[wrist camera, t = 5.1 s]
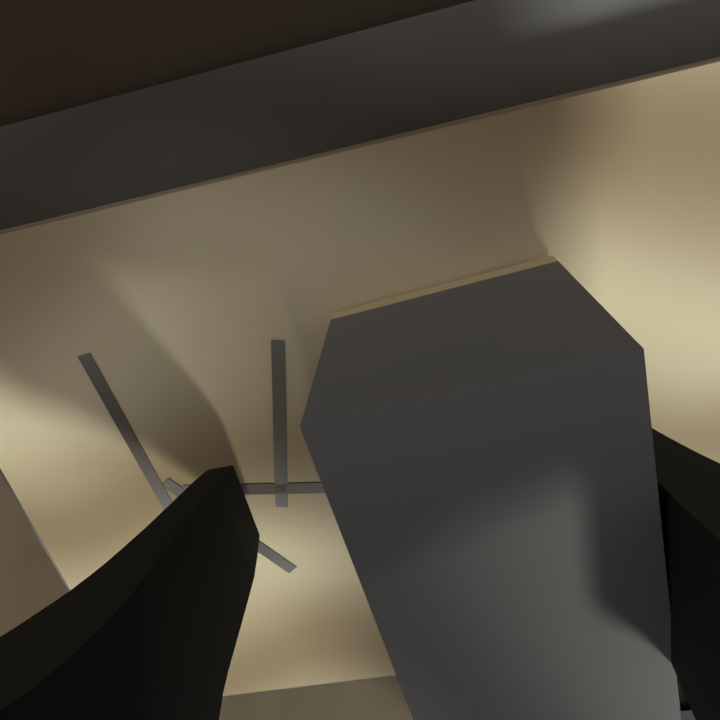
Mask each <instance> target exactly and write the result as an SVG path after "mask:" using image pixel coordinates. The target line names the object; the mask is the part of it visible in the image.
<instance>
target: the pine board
mask: <svg viewBox="0 0 720 720" xmlns="http://www.w3.org/2000/svg"><path fill="white" fill-rule="evenodd" d="M552 255H553V256H554V257H555V258H556V259H557V260H558V261H559V262H560V263H561V264H562V265H563V266H564V267H565V268H566V269H567V270H568V271H569V273H570V274H571V275H572V276H573V277H574V278H575V279H576V280H577V281H578V282H579V283H580V284H581V285H582V286H583V287H584V288H585V289H586V290H587V291H588V292H589V293H590V294H591V295H592V296H593V297H594V298H595V299H596V300H597V301H598V302H599V303H600V304H601V305H602V306H603V307H604V308H605V309H606V311H607V312H608V313H609V314H610V315H611V316H612V317H613V318H614V319H615V320H616V321H617V322H618V323H619V324H620V325H621V326H622V327H623V328H624V329H625V330H626V331H627V332H628V333H629V334H630V335H631V336H632V337H633V338H634V339H635V340H636V341H637V342H638V343H639V344H640V345H641V346H642V347H643V349H644V356H645V366H646V376H647V385H648V395H649V405H650V415H651V425H652V428H653V429H655V430H656V431H658V432H660V433H662V434H663V435H665V436H667V437H669V438H671V439H672V440H674V441H676V442H678V443H680V444H682V445H684V446H686V447H688V448H689V449H691V450H693V451H695V452H697V453H699V454H701V455H703V456H705V457H708V458H710V459H712V460H714V461H716V462H718V463H720V0H473V1H470V2H466V3H462V4H458V5H455V6H451V7H447V8H443V9H440V10H436V11H432V12H428V13H425V14H421V15H417V16H413V17H410V18H406V19H402V20H398V21H395V22H391V23H387V24H383V25H380V26H376V27H372V28H368V29H365V30H361V31H357V32H353V33H350V34H346V35H342V36H338V37H335V38H331V39H327V40H323V41H320V42H316V43H312V44H308V45H305V46H301V47H297V48H293V49H290V50H286V51H282V52H278V53H275V54H271V55H267V56H263V57H260V58H256V59H252V60H248V61H245V62H241V63H237V64H234V65H230V66H226V67H222V68H219V69H215V70H211V71H207V72H204V73H200V74H196V75H192V76H189V77H185V78H181V79H177V80H174V81H170V82H166V83H162V84H159V85H155V86H151V87H147V88H144V89H140V90H136V91H132V92H129V93H125V94H121V95H117V96H114V97H110V98H106V99H102V100H99V101H95V102H91V103H87V104H84V105H80V106H76V107H72V108H69V109H65V110H61V111H57V112H54V113H50V114H46V115H42V116H39V117H35V118H31V119H27V120H24V121H20V122H16V123H12V124H9V125H5V126H1V127H0V473H1V475H2V476H3V478H4V480H5V482H6V483H7V485H8V487H9V489H10V490H11V492H12V494H13V496H14V497H15V499H16V501H17V503H18V504H19V506H20V508H21V510H22V511H23V513H24V515H25V517H26V518H27V520H28V522H29V523H30V525H31V527H32V529H33V530H34V532H35V534H36V536H37V537H38V539H39V541H40V543H41V544H42V546H43V548H44V550H45V551H46V553H47V555H48V557H49V558H50V560H51V562H52V564H53V565H54V567H55V569H56V570H57V572H58V574H59V576H60V577H61V579H62V581H63V583H64V584H65V586H66V588H67V590H68V591H70V590H71V589H73V588H74V587H75V586H77V585H78V584H79V583H81V582H82V581H83V580H85V579H86V578H87V577H89V576H90V575H91V574H92V573H94V572H95V571H96V570H97V569H99V568H100V567H101V566H102V565H104V564H105V563H106V562H107V561H108V560H110V559H111V558H112V557H113V556H114V555H115V554H116V553H118V552H119V551H120V550H121V549H122V548H123V547H124V546H126V545H127V544H128V543H129V542H130V541H131V540H132V539H133V538H135V537H136V536H137V535H138V534H139V533H140V532H141V531H142V530H144V529H145V528H146V527H147V526H148V525H149V524H150V523H151V522H152V521H153V520H154V519H155V518H156V517H157V516H158V515H159V514H160V513H161V512H163V511H164V510H165V509H166V508H167V507H168V506H169V505H170V504H171V503H172V502H173V501H174V500H175V499H176V498H177V497H178V496H179V495H180V494H181V493H182V492H183V491H184V490H185V489H186V488H188V487H189V486H190V485H191V484H192V483H193V482H194V481H195V480H196V479H197V478H198V477H200V476H201V475H202V474H203V473H204V472H206V471H207V470H209V469H214V468H220V467H226V466H232V465H233V466H234V469H235V471H236V474H237V477H238V479H239V482H240V484H241V487H242V490H243V492H244V495H245V498H246V500H247V503H248V506H249V508H250V511H251V513H252V516H253V519H254V521H255V524H256V527H257V529H258V532H259V535H260V537H259V546H258V555H257V562H256V569H255V576H254V580H253V584H252V588H251V591H250V595H249V599H248V602H247V606H246V610H245V613H244V617H243V621H242V624H241V628H240V631H239V635H238V638H237V642H236V646H235V649H234V653H233V656H232V660H231V664H230V667H229V671H228V675H227V679H226V683H225V688H224V692H223V697H228V696H236V695H244V694H252V693H260V692H269V691H277V690H285V689H293V688H302V687H310V686H318V685H326V684H334V683H343V682H351V681H359V680H367V679H375V678H384V677H392V676H396V673H395V671H394V668H393V666H392V663H391V660H390V658H389V655H388V653H387V650H386V648H385V645H384V642H383V640H382V637H381V635H380V632H379V630H378V627H377V624H376V622H375V619H374V617H373V614H372V612H371V609H370V606H369V604H368V601H367V599H366V596H365V594H364V591H363V588H362V586H361V583H360V581H359V578H358V576H357V573H356V570H355V568H354V565H353V563H352V560H351V558H350V555H349V552H348V550H347V547H346V545H345V542H344V540H343V537H342V534H341V532H340V529H339V527H338V524H337V522H336V519H335V516H334V514H333V511H332V509H331V506H330V504H329V501H328V498H327V496H326V493H325V491H324V488H323V486H322V483H321V480H320V478H319V475H318V473H317V470H316V468H315V465H314V462H313V460H312V457H311V455H310V452H309V450H308V447H307V444H306V442H305V439H304V437H303V434H302V432H301V429H300V425H301V421H302V418H303V414H304V411H305V407H306V404H307V400H308V397H309V393H310V390H311V386H312V383H313V379H314V376H315V372H316V369H317V365H318V362H319V358H320V355H321V351H322V348H323V345H324V341H325V338H326V334H327V331H328V327H329V324H330V320H331V317H332V313H334V312H338V311H341V310H345V309H349V308H353V307H357V306H361V305H364V304H368V303H372V302H376V301H380V300H384V299H388V298H391V297H395V296H399V295H403V294H407V293H411V292H414V291H418V290H422V289H426V288H430V287H434V286H437V285H441V284H445V283H449V282H453V281H457V280H460V279H464V278H468V277H472V276H476V275H480V274H483V273H487V272H491V271H495V270H499V269H503V268H506V267H510V266H514V265H518V264H522V263H526V262H529V261H533V260H537V259H541V258H545V257H549V256H552Z"/></svg>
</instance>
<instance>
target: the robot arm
mask: <svg viewBox="0 0 720 720" xmlns="http://www.w3.org/2000/svg"><path fill="white" fill-rule="evenodd" d="M652 435H653V445H654V455H655V465H656V474H657V484H658V494H659V504H660V514H661V524H662V534H663V544H664V554H665V564H666V573H667V583H668V593H669V603H670V613H671V664H672V666H673V668H674V671H675V673H676V675H677V677H678V680H679V682H680V684H681V687H682V689H683V691H684V694H685V696H686V698H687V701H688V703H689V705H690V708H691V710H684V711H680V712H681V720H720V463H718V462H716V461H714V460H712V459H710V458H708V457H705V456H703V455H701V454H699V453H697V452H695V451H693V450H691V449H689V448H688V447H686V446H684V445H682V444H680V443H678V442H676V441H674V440H672V439H671V438H669V437H667V436H665V435H663V434H662V433H660V432H658V431H656V430H655V429H653V428H652ZM259 537H260V535H259V532H258V529H257V527H256V524H255V521H254V519H253V516H252V513H251V511H250V508H249V506H248V503H247V500H246V498H245V495H244V492H243V490H242V487H241V484H240V482H239V479H238V477H237V474H236V471H235V469H234V466H233V465H232V466H226V467H220V468H214V469H209V470H207V471H206V472H204V473H203V474H202V475H201V476H200V477H198V478H197V479H196V480H195V481H194V482H193V483H192V484H191V485H190V486H189V487H188V488H186V489H185V490H184V491H183V492H182V493H181V494H180V495H179V496H178V497H177V498H176V499H175V500H174V501H173V502H172V503H171V504H170V505H169V506H168V507H167V508H166V509H165V510H164V511H163V512H161V513H160V514H159V515H158V516H157V517H156V518H155V519H154V520H153V521H152V522H151V523H150V524H149V525H148V526H147V527H146V528H145V529H144V530H142V531H141V532H140V533H139V534H138V535H137V536H136V537H135V538H133V539H132V540H131V541H130V542H129V543H128V544H127V545H126V546H124V547H123V548H122V549H121V550H120V551H119V552H118V553H116V554H115V555H114V556H113V557H112V558H111V559H110V560H108V561H107V562H106V563H105V564H104V565H102V566H101V567H100V568H99V569H97V570H96V571H95V572H94V573H92V574H91V575H90V576H89V577H87V578H86V579H85V580H83V581H82V582H81V583H79V584H78V585H77V586H75V587H74V588H73V589H71V590H70V591H69V592H67V593H66V594H65V595H63V596H62V597H61V598H59V599H58V600H56V601H55V602H53V603H52V604H50V605H49V606H47V607H46V608H44V609H43V610H41V611H40V612H38V613H37V614H35V615H34V616H32V617H31V618H29V619H28V620H26V621H25V622H23V623H22V624H20V625H19V626H17V627H16V628H14V629H12V630H11V631H9V632H8V633H6V634H4V635H3V636H1V637H0V720H219V715H220V709H221V703H222V697H223V692H224V688H225V683H226V679H227V675H228V671H229V667H230V664H231V660H232V656H233V653H234V649H235V646H236V642H237V638H238V635H239V631H240V628H241V624H242V621H243V617H244V613H245V610H246V606H247V602H248V599H249V595H250V591H251V588H252V584H253V580H254V576H255V569H256V562H257V555H258V546H259Z"/></svg>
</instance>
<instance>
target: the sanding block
mask: <svg viewBox="0 0 720 720" xmlns="http://www.w3.org/2000/svg"><path fill="white" fill-rule="evenodd" d="M300 429H301V432H302V434H303V437H304V439H305V442H306V444H307V447H308V450H309V452H310V455H311V457H312V460H313V462H314V465H315V468H316V470H317V473H318V475H319V478H320V480H321V483H322V486H323V488H324V491H325V493H326V496H327V498H328V501H329V504H330V506H331V509H332V511H333V514H334V516H335V519H336V522H337V524H338V527H339V529H340V532H341V534H342V537H343V540H344V542H345V545H346V547H347V550H348V552H349V555H350V558H351V560H352V563H353V565H354V568H355V570H356V573H357V576H358V578H359V581H360V583H361V586H362V588H363V591H364V594H365V596H366V599H367V601H368V604H369V606H370V609H371V612H372V614H373V617H374V619H375V622H376V624H377V627H378V630H379V632H380V635H381V637H382V640H383V642H384V645H385V648H386V650H387V653H388V655H389V658H390V660H391V663H392V666H393V668H394V671H395V673H396V676H397V678H398V681H399V684H400V686H401V689H402V691H403V694H404V696H405V699H406V702H407V704H408V707H409V709H410V712H411V714H412V717H413V720H681V712H680V702H679V692H678V682H677V675H676V673H675V671H674V668H673V666H672V664H671V613H670V603H669V593H668V583H667V573H666V564H665V554H664V544H663V534H662V524H661V514H660V504H659V494H658V484H657V474H656V465H655V455H654V445H653V435H652V425H651V415H650V405H649V395H648V385H647V376H646V366H645V356H644V349H643V347H642V346H641V345H640V344H639V343H638V342H637V341H636V340H635V339H634V338H633V337H632V336H631V335H630V334H629V333H628V332H627V331H626V330H625V329H624V328H623V327H622V326H621V325H620V324H619V323H618V322H617V321H616V320H615V319H614V318H613V317H612V316H611V315H610V314H609V313H608V312H607V311H606V309H605V308H604V307H603V306H602V305H601V304H600V303H599V302H598V301H597V300H596V299H595V298H594V297H593V296H592V295H591V294H590V293H589V292H588V291H587V290H586V289H585V288H584V287H583V286H582V285H581V284H580V283H579V282H578V281H577V280H576V279H575V278H574V277H573V276H572V275H571V274H570V273H569V271H568V270H567V269H566V268H565V267H564V266H563V265H562V264H561V263H560V262H559V261H558V260H557V259H556V258H555V257H554V256H553V255H552V256H549V257H545V258H541V259H537V260H533V261H529V262H526V263H522V264H518V265H514V266H510V267H506V268H503V269H499V270H495V271H491V272H487V273H483V274H480V275H476V276H472V277H468V278H464V279H460V280H457V281H453V282H449V283H445V284H441V285H437V286H434V287H430V288H426V289H422V290H418V291H414V292H411V293H407V294H403V295H399V296H395V297H391V298H388V299H384V300H380V301H376V302H372V303H368V304H364V305H361V306H357V307H353V308H349V309H345V310H341V311H338V312H334V313H332V317H331V320H330V324H329V327H328V331H327V334H326V338H325V341H324V345H323V348H322V351H321V355H320V358H319V362H318V365H317V369H316V372H315V376H314V379H313V383H312V386H311V390H310V393H309V397H308V400H307V404H306V407H305V411H304V414H303V418H302V421H301V425H300Z"/></svg>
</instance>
